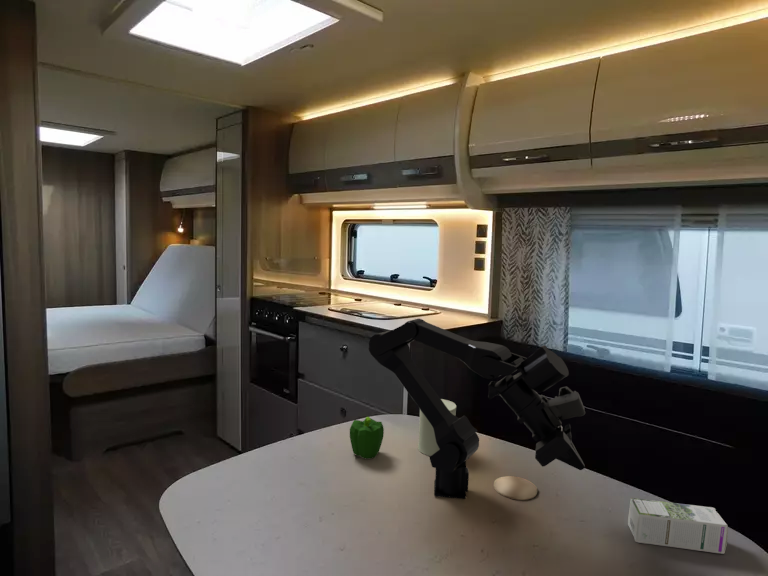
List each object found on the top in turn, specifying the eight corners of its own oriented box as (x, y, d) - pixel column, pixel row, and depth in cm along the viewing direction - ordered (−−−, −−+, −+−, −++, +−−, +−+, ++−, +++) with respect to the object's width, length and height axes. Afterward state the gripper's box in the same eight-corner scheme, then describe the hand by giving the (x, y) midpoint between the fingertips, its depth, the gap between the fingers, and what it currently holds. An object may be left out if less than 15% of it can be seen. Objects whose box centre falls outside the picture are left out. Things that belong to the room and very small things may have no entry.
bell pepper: (352, 445, 127) (353, 407, 126) (384, 448, 126) (386, 410, 125) (345, 460, 119) (346, 420, 117) (379, 463, 118) (381, 422, 116)
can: (414, 441, 130) (416, 396, 129) (449, 440, 131) (451, 396, 130) (421, 457, 121) (423, 409, 120) (458, 456, 122) (460, 409, 121)
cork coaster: (496, 498, 104) (496, 495, 104) (491, 476, 113) (491, 474, 113) (540, 501, 103) (541, 499, 103) (532, 480, 112) (533, 477, 112)
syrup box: (635, 543, 90) (725, 556, 87) (638, 513, 89) (730, 525, 86) (626, 524, 95) (711, 536, 92) (630, 495, 94) (715, 506, 92)
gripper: (561, 393, 85) (626, 467, 83) (559, 365, 102) (612, 425, 100) (510, 430, 88) (571, 502, 86) (516, 397, 106) (567, 456, 104)
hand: (582, 468), depth 94 cm, fingers closed
